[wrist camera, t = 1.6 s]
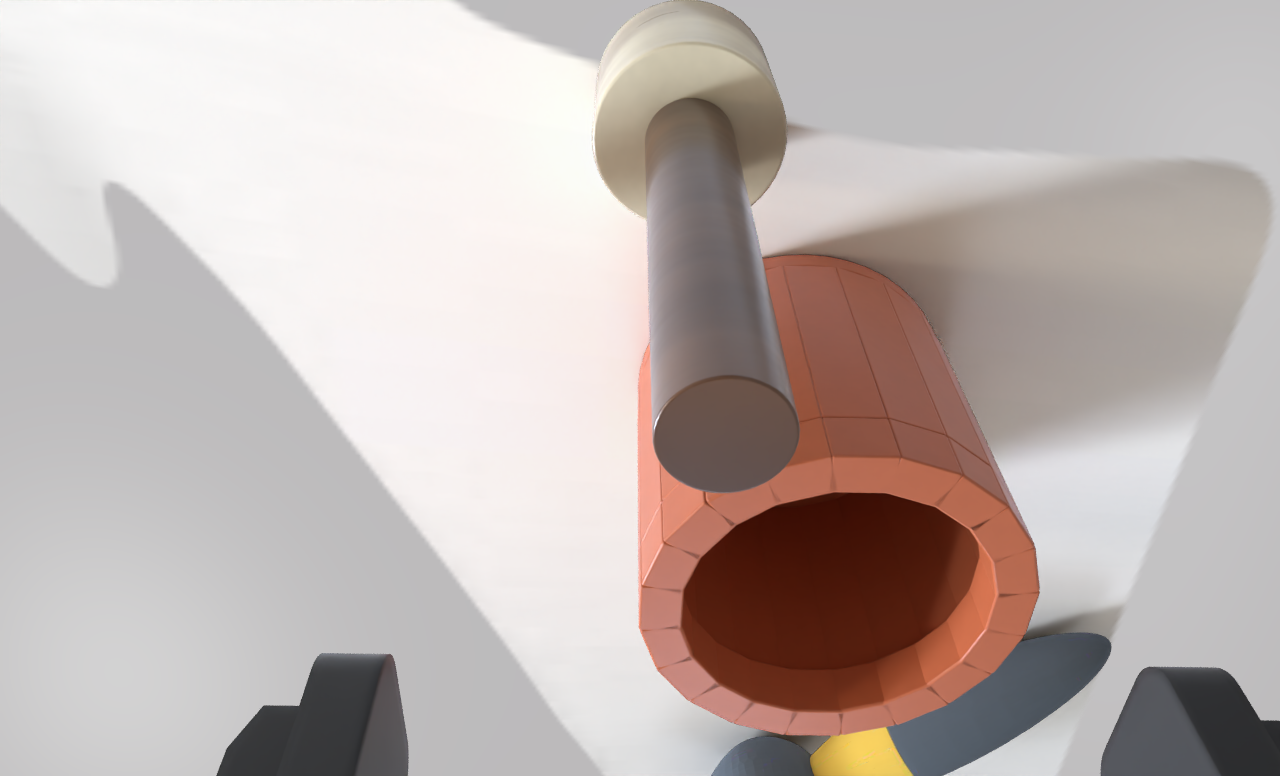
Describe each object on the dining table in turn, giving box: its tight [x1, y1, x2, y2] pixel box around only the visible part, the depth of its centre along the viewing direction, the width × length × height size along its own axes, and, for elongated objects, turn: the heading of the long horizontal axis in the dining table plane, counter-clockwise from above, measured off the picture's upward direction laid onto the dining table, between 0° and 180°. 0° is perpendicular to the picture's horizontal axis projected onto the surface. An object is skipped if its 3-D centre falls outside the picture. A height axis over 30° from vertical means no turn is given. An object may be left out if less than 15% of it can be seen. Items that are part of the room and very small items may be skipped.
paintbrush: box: [711, 633, 1111, 776], centre depth 41 cm, size 20×5×5 cm, turn 128°
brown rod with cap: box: [592, 0, 800, 493], centre depth 22 cm, size 5×5×16 cm
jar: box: [638, 255, 1040, 736], centre depth 30 cm, size 10×10×10 cm
